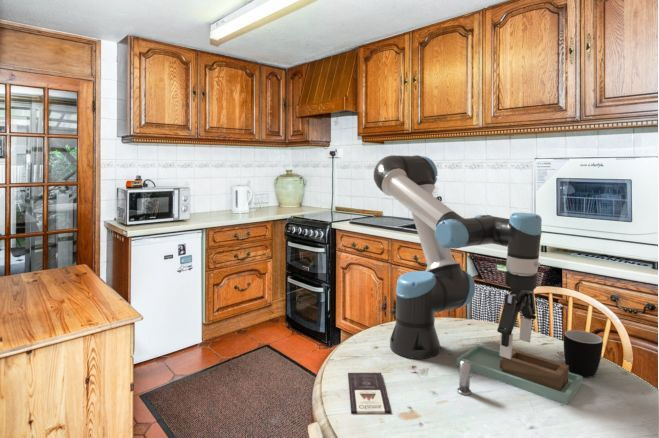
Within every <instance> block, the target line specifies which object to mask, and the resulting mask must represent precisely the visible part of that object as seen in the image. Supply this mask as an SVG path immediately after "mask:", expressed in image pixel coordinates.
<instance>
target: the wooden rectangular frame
mask: <svg viewBox="0 0 659 438" xmlns="http://www.w3.org/2000/svg"><path fill="white" fill-rule="evenodd" d="M500 368H501V369H502V372H504V373H507V374H510V375H513V376H516V377H519V378H522V379H525V380H528V381H531V382H534V383H537V384H540V385H543V386H546V387H548V388H551V389H554V390H557V391H560V392H561V390H562V389H563V388H564V387H565V385H566V384H567V383H568V374H569V365H566V364H565V363H563V362H558V361H555V360H552V359H548V358H545V357H543V356H539V355H535V354H531V353H529V352H524V351H521V350H518V349H514V348H512V354H511V359H508V358H505V357H503V358H502V359H500Z"/></svg>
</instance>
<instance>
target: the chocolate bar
mask: <svg viewBox="0 0 659 438" xmlns="http://www.w3.org/2000/svg"><path fill="white" fill-rule="evenodd" d="M347 378H348V381H347V382H348V390H349V391H348V392H349V402H350V403H349V405H350V413H351V414H358V415H359V414H366V415H367V414H391V413H392V412H391V406H390V404H389V400H388V396H387V390H386V387H385V384H384V383H385V382H384V379H383V375H382V372H347ZM351 414H350V415H351Z"/></svg>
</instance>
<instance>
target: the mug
mask: <svg viewBox="0 0 659 438" xmlns="http://www.w3.org/2000/svg"><path fill="white" fill-rule="evenodd" d="M603 346H604V339H603V337H601V336H599V335H598V334H596V333H592V332H589V331H585V330H581V329H579V330H577V329H572V330H570V329H569V330H566V331H565V332H564V334H563V357H564V364H566V365H569V372H570V373H574V374H577V375H580V376H583V378H592V377H594V376H595V375H596V374H597V372H598V369H599V366H600V362H601V359H602V358H601V357H602V352H603Z"/></svg>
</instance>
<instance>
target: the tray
mask: <svg viewBox="0 0 659 438" xmlns="http://www.w3.org/2000/svg"><path fill="white" fill-rule="evenodd" d="M499 355H500V350H498V349H495V348H490V347H488V346H485V345H482V344H478V343H477V344H476V345H474V346H473V347H472V348H470V349H469V350H467V351H466V352H464V353H462V354H461V355H460V356H458V357H457V358H456V366H457V367H459V368H460V360H461V359H467V360H469V361H470V372H474V373H476V374H479V375H481V376H485V377H487V378H490V379H493V380H496V381H499V382H502V383H505V384H507V385H510V386H513V387H515V388H518V389H521V390H524V391H527V392H530V393H533V394H536V395H538V396H540V397H544V398H546V399H550V400H553V401H555V402H558V403H561V404H563V405H566V406H568V405H569V404H570V402H571V401H572V399H573V398H574V397H575V395H576V394H577V392H578V391H579V389H580V388H581V386H582V385H583V378H584V377H583V376H580V375H577V374H574V373H570V372H569V374H568V383H567V384H566V385H565V387H564V388H563V389H562V390H561V392H560V391H557V390H554V389H551V388H548V387H546V386H543V385H540V384H537V383H534V382H531V381H528V380H525V379H522V378H519V377H516V376H513V375H510V374H507V373H504V372H502V369H501V368H500V359H502V358H503V357H502V356H499Z"/></svg>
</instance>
